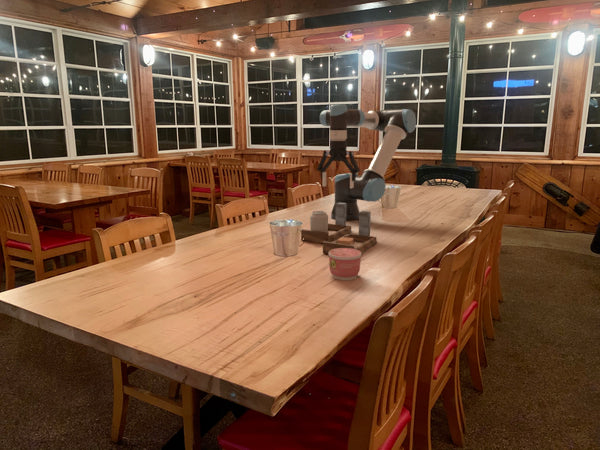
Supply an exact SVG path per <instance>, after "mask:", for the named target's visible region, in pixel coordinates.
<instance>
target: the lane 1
mask: <svg viewBox="0 0 600 450" xmlns="http://www.w3.org/2000/svg"><path fill="white" fill-rule="evenodd" d="M328 230H332V231H335V232H333V233H332V234H329V231H328V232H320V231H313V230H310V229H304V228H301V230H300V240H301V241H308V242H312V243H313V242H314V243H322V244H323V242H324V241H326V242H334V241H335V240H337V239H339V238H341V237H343V236H345V235H347V234H350V232H352V226H351V225H347V220H346V203H337V204H336V219H335V221H334V223H329V222H328ZM303 238H304V240H303Z"/></svg>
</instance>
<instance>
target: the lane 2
mask: <svg viewBox="0 0 600 450" xmlns="http://www.w3.org/2000/svg"><path fill="white" fill-rule="evenodd" d="M371 213H372V212H371V211H370V210H369V211H368V210H361V211H359V219H358V234H356V233H347V234H345V235H343V236H342V237H346V238H354V239H353V242H354V241H355V242H363V243H361V244H359V245H358V246H356V247H355V244H353V245H347V244H340V243H338V239H339V238H337V239H335V240H333V241H331V242H326V241H324V242H323V243H322V254H326V255H329V251H330V250H332V249H337V248H351V249H356V250H358V251H360V252H361V253H363V252H364V251H366V250H367V249H369V248H370V247H373V245H375V244H377V240H378V239H377V236H371V215H372V214H371Z"/></svg>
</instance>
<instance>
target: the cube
mask: <svg viewBox="0 0 600 450" xmlns="http://www.w3.org/2000/svg"><path fill="white" fill-rule="evenodd" d="M337 239H338V243H340V244H347V245H354V240H353V239H354V238H346V237H343V236H341V237H339V238H337Z"/></svg>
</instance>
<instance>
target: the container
mask: <svg viewBox="0 0 600 450" xmlns="http://www.w3.org/2000/svg"><path fill="white" fill-rule="evenodd" d="M328 257H329V259H328V262H329V263H328V264H329V270H330V273H331V274H332V275H331V276H332V278H334V279H336V280H339V279H340V281H351V279H352V280H354V279H356V278H357V275H359V273H360V269H361V257H362V252H360V251H358V250H356V249H351V248H337V249H332V250H330V251H329V254H328Z"/></svg>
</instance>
